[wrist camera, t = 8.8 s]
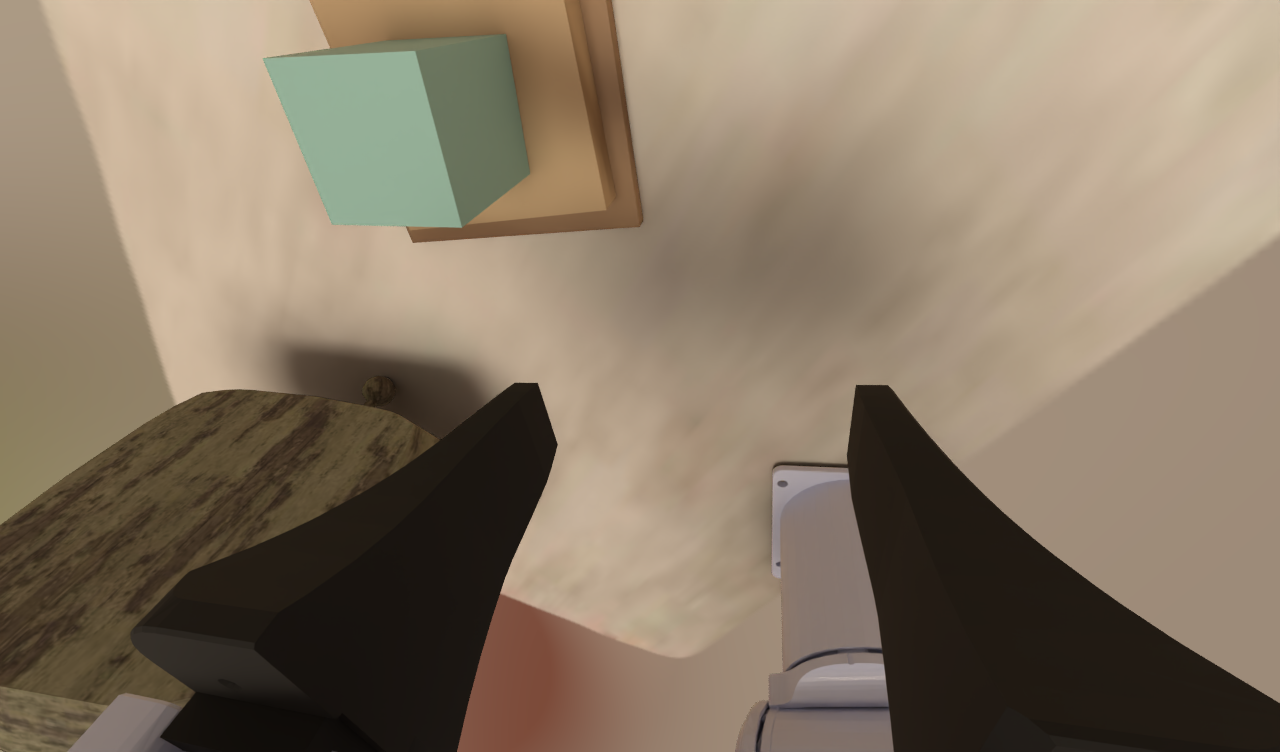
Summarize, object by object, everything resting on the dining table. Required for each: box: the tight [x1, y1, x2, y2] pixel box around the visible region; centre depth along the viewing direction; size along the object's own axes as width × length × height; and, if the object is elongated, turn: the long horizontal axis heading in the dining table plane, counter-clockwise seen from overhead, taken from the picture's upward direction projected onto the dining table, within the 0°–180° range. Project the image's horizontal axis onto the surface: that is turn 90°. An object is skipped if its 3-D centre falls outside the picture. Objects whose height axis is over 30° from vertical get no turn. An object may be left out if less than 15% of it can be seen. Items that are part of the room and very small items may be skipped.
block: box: [263, 34, 530, 228], centre depth 15 cm, size 4×4×5 cm
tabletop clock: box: [0, 376, 440, 752], centre depth 20 cm, size 14×9×25 cm, turn 90°
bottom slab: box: [406, 0, 643, 243], centre depth 19 cm, size 10×10×2 cm
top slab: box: [310, 0, 616, 230], centre depth 17 cm, size 8×8×2 cm
